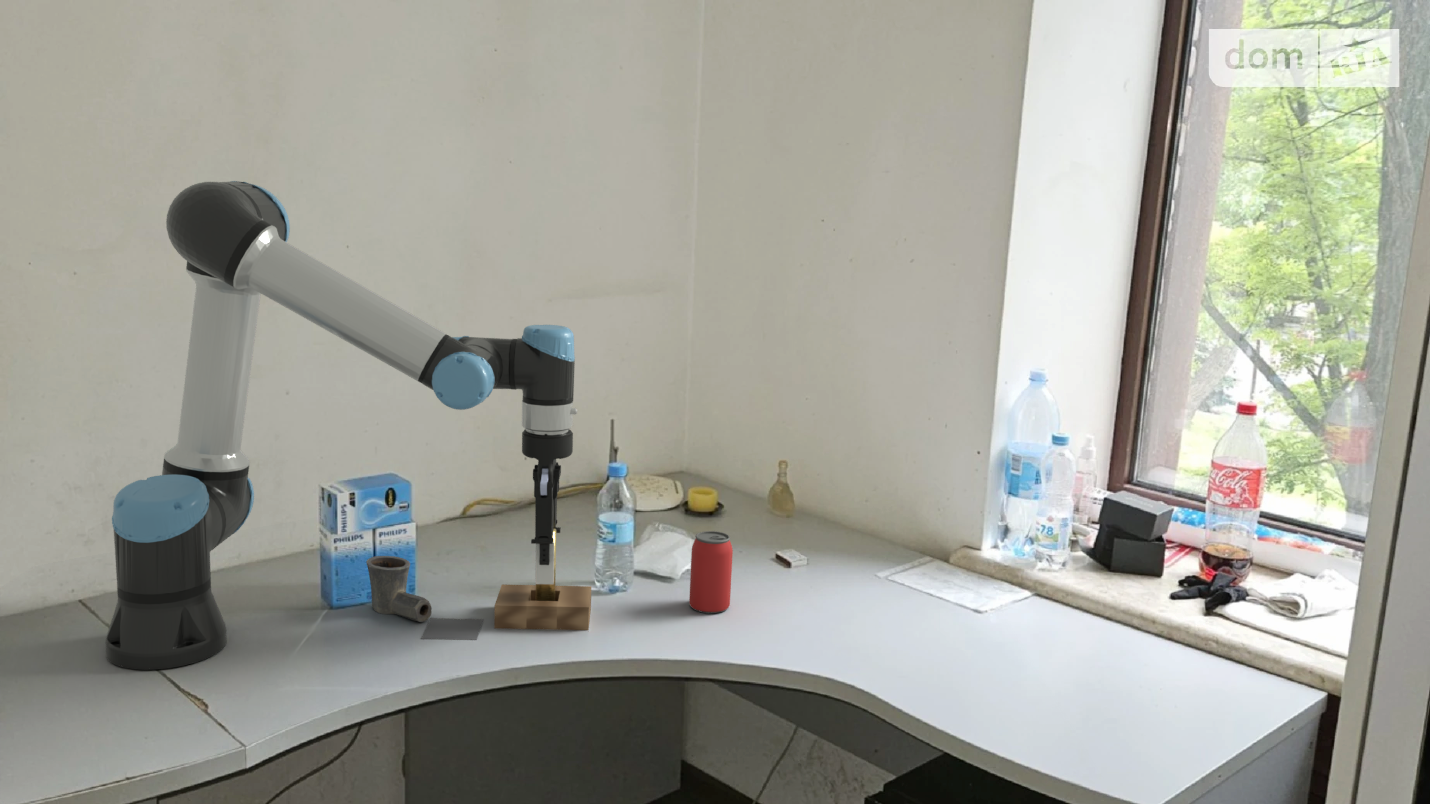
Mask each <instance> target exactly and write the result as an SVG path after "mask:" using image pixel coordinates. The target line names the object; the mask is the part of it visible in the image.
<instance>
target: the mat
mask: <svg viewBox="0 0 1430 804" xmlns="http://www.w3.org/2000/svg"><path fill="white" fill-rule="evenodd" d="M484 620H485V619H484V618H454V617H452V618H444V617H442V618H441V617H430V619H429V621H428V622H427V625H426V627H425V629H424V631H423V633H422V635H421V637H420V640H443V641H445V640H451V641H452V640H455V641H456V640H457V641H458V640H459V641H477V640H478V637H479V634H480V632H481V629H482V625H483V623H484Z"/></svg>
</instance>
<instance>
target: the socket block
mask: <svg viewBox="0 0 1430 804" xmlns="http://www.w3.org/2000/svg"><path fill="white" fill-rule="evenodd" d="M499 588H500V589H499V591H498V594H497V596H496V597H497V598H496V600H495V603H494V614H493V615H494V617H493V619H494V620H493V621H494V625H493V626H494V627H493V628H494V629H506V630H507V629H508V630H510V629H511V630H512V629H513V630H552V631H554V630H555V631H556V630H558V631H559V630H561V631H565V630H566V631H589V628H590V621H591V610H592V586H591V585H590V586H589V585H588V586H587V585H582V586H581V585H579V586H578V585H555V601H535V597H536V584H535V585H534V584H501V586H500V587H499Z"/></svg>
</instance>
